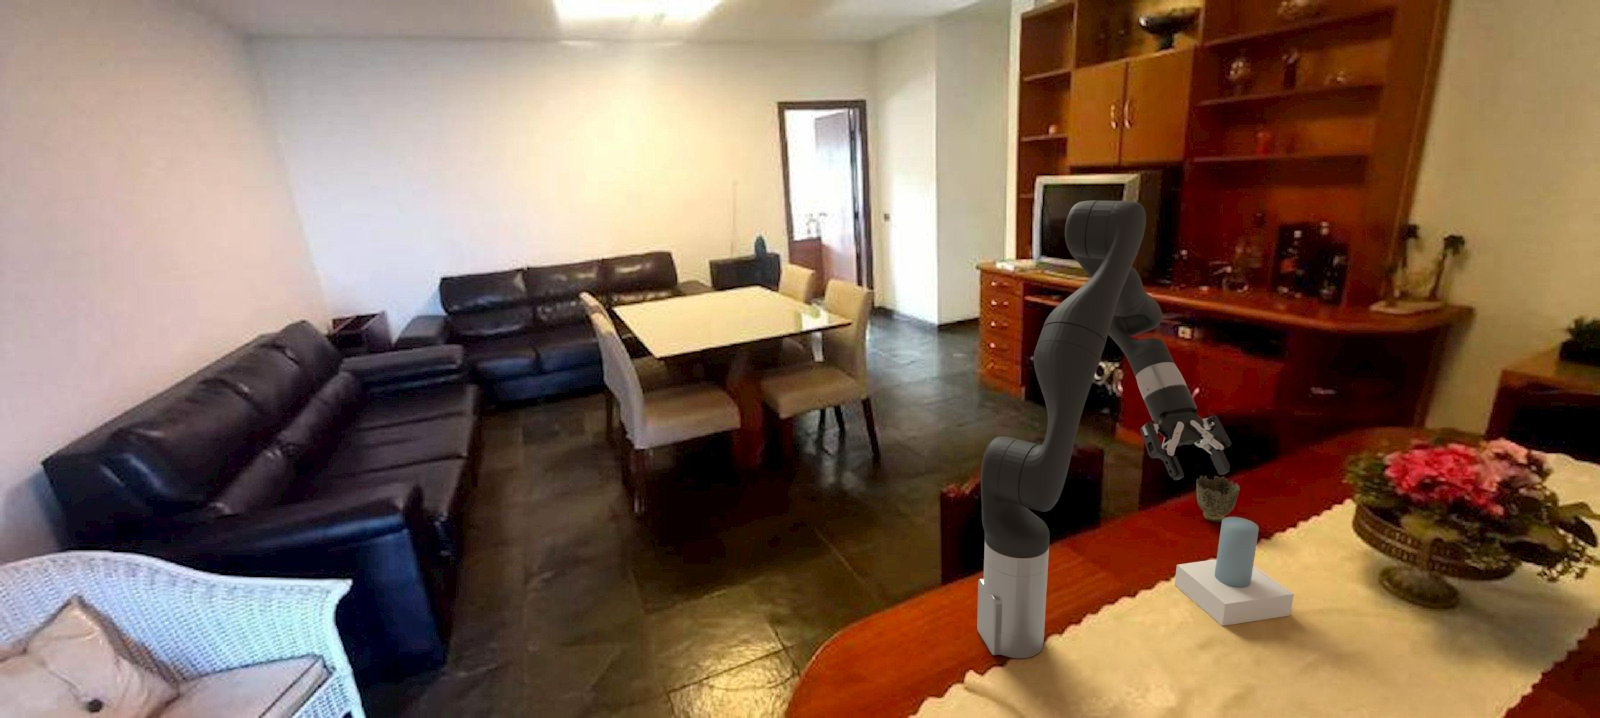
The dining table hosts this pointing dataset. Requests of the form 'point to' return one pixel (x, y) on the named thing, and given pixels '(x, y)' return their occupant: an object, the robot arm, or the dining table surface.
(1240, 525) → the blue cylinder
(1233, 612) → the white plinth
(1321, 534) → the dining table surface
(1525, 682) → the dining table surface
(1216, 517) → the cup
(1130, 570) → the dining table surface
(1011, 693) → the dining table surface
